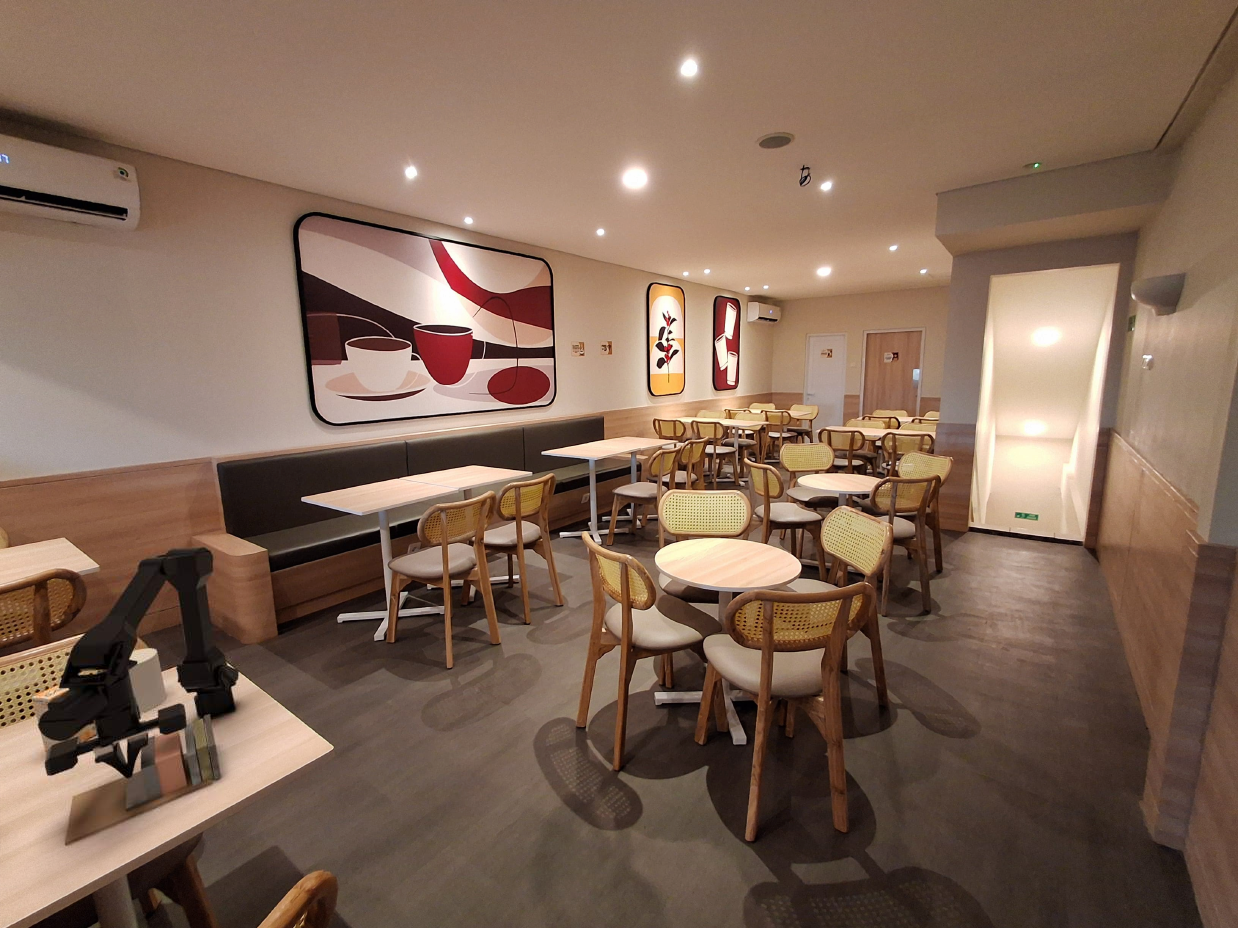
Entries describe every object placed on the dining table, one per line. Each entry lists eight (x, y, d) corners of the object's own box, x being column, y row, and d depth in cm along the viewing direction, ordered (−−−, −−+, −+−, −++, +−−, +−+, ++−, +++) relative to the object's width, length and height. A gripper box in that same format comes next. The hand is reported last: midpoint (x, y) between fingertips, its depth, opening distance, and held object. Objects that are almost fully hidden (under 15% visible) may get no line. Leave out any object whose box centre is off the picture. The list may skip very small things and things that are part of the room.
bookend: (161, 766, 108) (154, 735, 106) (162, 796, 100) (155, 763, 99) (127, 779, 105) (120, 747, 103) (126, 811, 97) (118, 777, 96)
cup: (138, 694, 132) (128, 649, 130) (174, 691, 133) (165, 647, 130) (111, 716, 124) (100, 668, 122) (150, 713, 125) (140, 666, 123)
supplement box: (62, 756, 112) (48, 699, 109) (44, 753, 113) (29, 697, 110) (107, 729, 120) (94, 675, 117) (89, 726, 121) (76, 673, 118)
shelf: (215, 744, 115) (209, 712, 113) (221, 779, 105) (215, 745, 103) (73, 798, 101) (64, 763, 99) (65, 845, 91) (55, 807, 90)
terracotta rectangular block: (184, 759, 110) (178, 728, 108) (187, 785, 103) (180, 753, 102) (161, 768, 107) (154, 737, 106) (162, 795, 101) (155, 762, 99)
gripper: (177, 663, 110) (190, 731, 113) (45, 702, 98) (63, 776, 101) (179, 688, 101) (193, 761, 104) (35, 734, 89) (56, 814, 93)
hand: (129, 776), depth 101 cm, fingers closed
